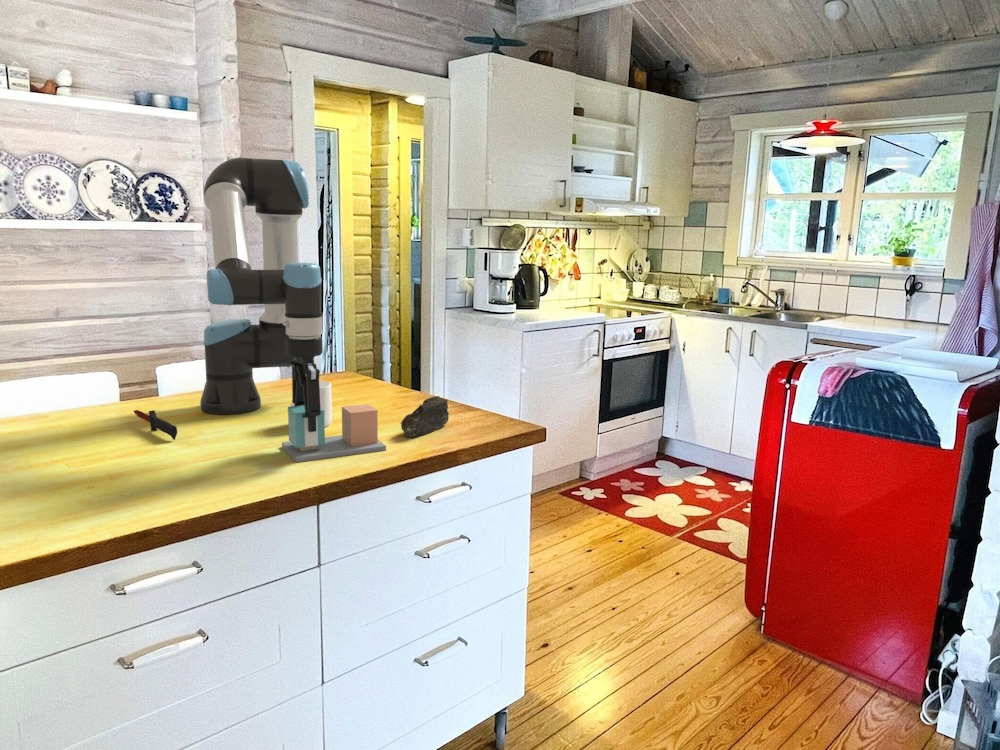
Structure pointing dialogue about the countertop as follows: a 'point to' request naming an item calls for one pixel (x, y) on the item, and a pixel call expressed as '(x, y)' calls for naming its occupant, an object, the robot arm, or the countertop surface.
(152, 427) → the knife
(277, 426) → the countertop surface
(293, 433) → the teal upright block
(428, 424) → the stone
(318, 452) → the grey base with blocks
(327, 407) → the mug
